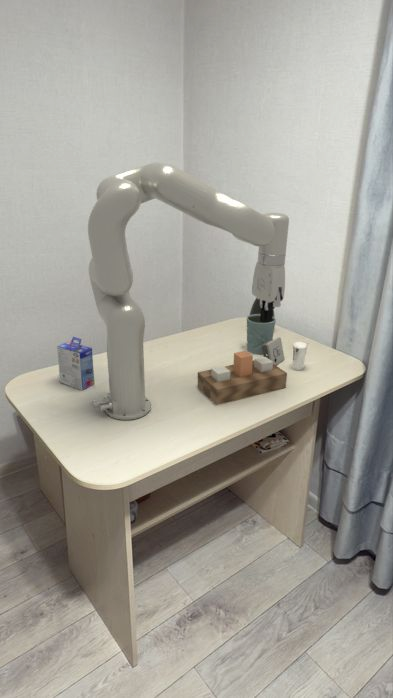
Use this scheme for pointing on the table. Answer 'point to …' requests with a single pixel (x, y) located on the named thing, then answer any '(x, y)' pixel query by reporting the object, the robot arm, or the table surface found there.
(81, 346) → the ink cartridge box
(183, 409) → the table surface
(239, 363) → the terracotta peg
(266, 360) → the grey peg right
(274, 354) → the electrical switch
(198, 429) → the table surface
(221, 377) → the grey peg left
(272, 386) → the socket board
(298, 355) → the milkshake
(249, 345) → the teal plant pot
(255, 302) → the pump dispenser
